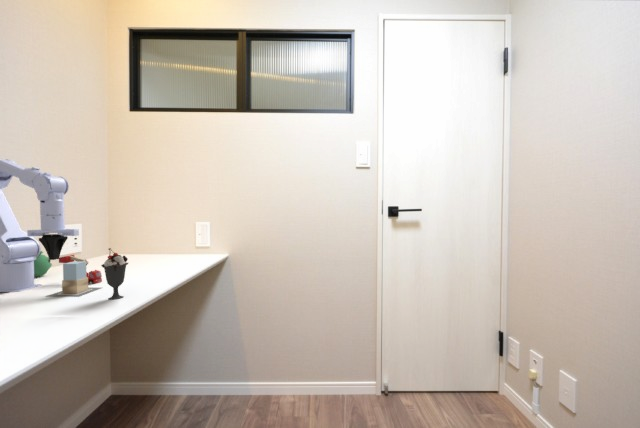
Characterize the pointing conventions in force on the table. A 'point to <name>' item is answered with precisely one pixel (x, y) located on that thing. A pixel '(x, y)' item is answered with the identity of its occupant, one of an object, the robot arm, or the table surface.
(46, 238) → the robot arm
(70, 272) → the bluegrey block
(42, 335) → the table surface
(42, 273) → the alien toy
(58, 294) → the grey square pad
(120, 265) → the sundae
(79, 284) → the beech block
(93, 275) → the toy fire truck
